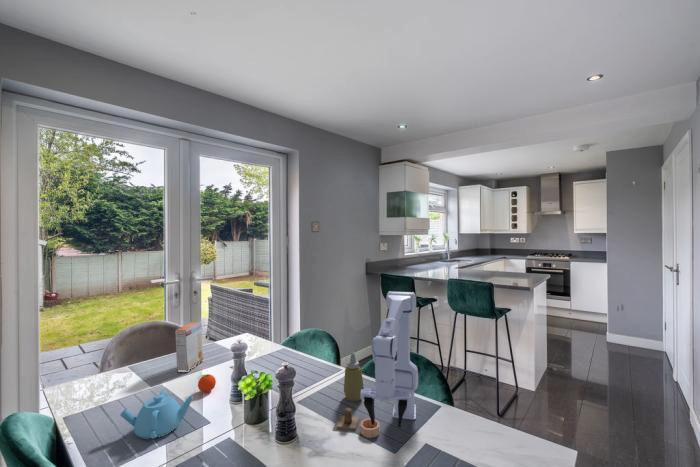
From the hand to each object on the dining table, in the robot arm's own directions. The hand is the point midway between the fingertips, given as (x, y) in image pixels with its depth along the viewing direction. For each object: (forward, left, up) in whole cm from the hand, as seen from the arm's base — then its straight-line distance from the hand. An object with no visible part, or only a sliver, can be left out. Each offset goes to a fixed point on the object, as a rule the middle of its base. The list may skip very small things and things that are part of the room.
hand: (386, 424), depth 96 cm
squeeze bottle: (-31, -16, -10) cm, 37 cm away
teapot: (-1, -79, -10) cm, 80 cm away
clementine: (-27, -79, -10) cm, 84 cm away
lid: (-14, -15, -10) cm, 22 cm away
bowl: (-11, -7, -10) cm, 16 cm away
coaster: (-14, -15, -10) cm, 22 cm away
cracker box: (-48, -103, -10) cm, 114 cm away
